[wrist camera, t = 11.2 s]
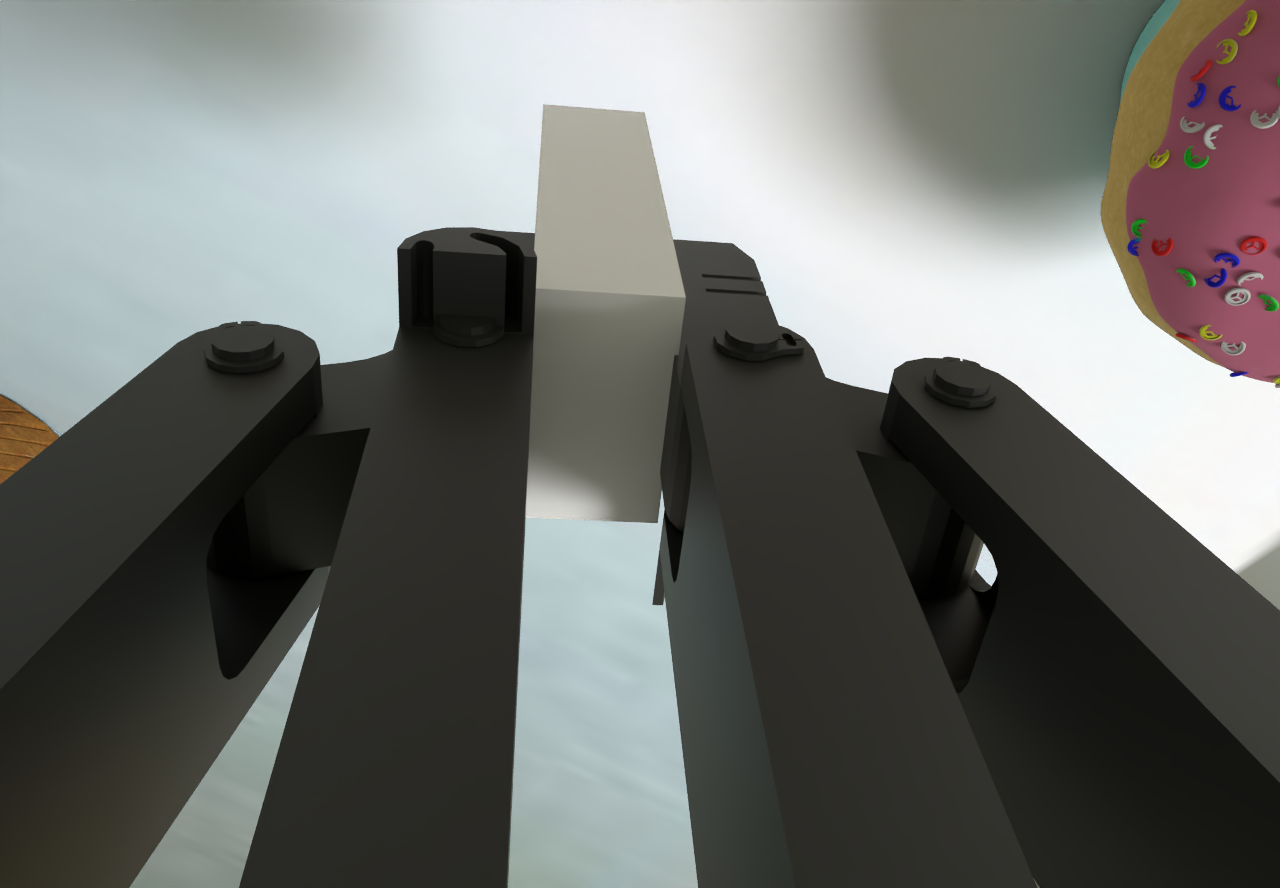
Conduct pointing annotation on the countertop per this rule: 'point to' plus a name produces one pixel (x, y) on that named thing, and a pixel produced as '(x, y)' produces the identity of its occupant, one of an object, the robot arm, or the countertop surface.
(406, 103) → the countertop surface
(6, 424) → the disposable coffee cup
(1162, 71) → the cupcake
